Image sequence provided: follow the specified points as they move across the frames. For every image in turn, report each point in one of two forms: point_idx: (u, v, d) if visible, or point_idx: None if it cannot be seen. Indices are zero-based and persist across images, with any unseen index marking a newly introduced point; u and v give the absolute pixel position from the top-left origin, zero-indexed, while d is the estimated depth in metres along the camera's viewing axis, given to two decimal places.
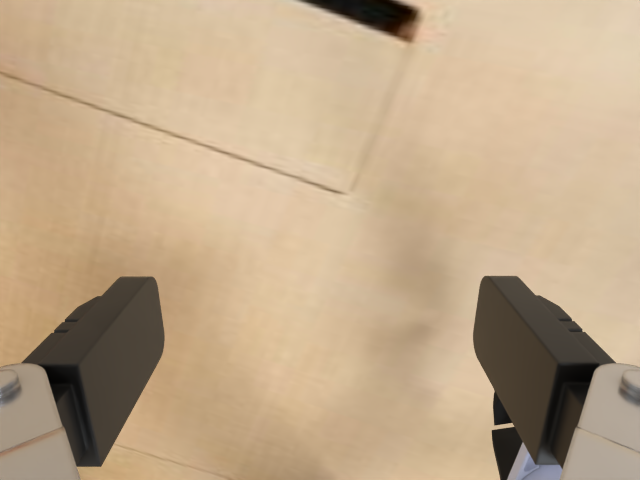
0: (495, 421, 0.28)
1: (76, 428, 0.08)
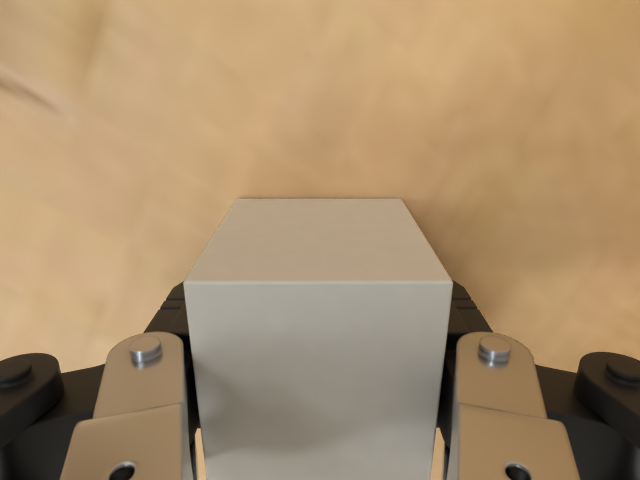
0: None
1: None
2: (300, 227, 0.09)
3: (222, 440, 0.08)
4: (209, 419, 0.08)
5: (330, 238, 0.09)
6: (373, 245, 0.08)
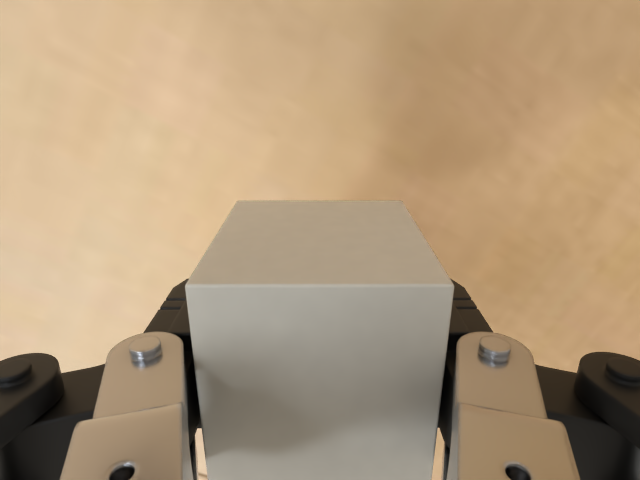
0: None
1: None
2: (300, 229, 0.09)
3: (223, 443, 0.08)
4: (210, 422, 0.08)
5: (331, 241, 0.09)
6: (374, 248, 0.08)
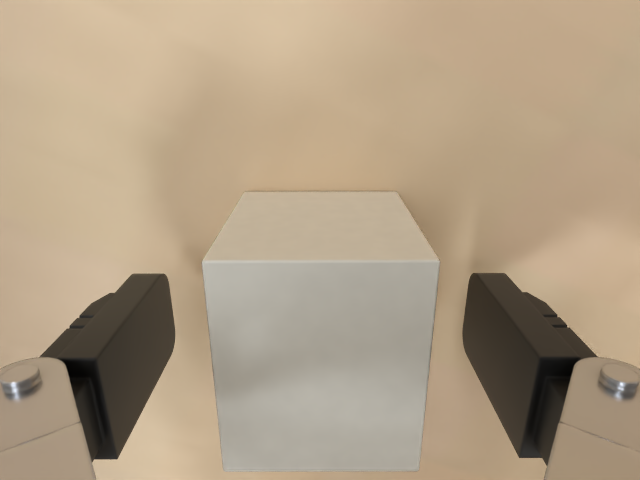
0: None
1: (94, 421, 0.08)
2: (303, 216, 0.10)
3: (234, 406, 0.09)
4: (223, 386, 0.09)
5: (331, 225, 0.10)
6: (369, 230, 0.09)
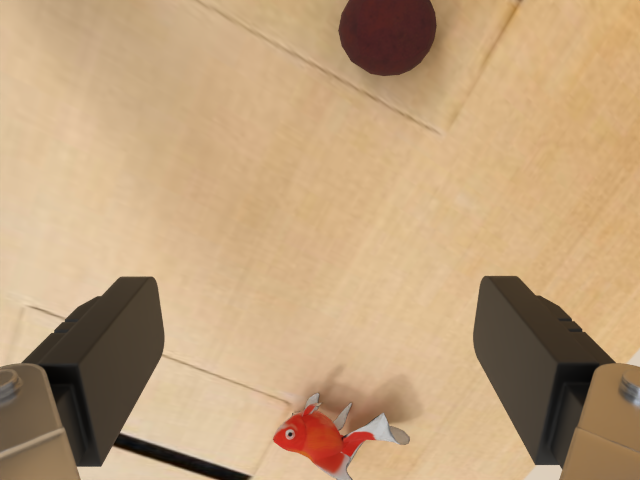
0: None
1: (77, 428, 0.08)
2: None
3: None
4: None
5: None
6: None
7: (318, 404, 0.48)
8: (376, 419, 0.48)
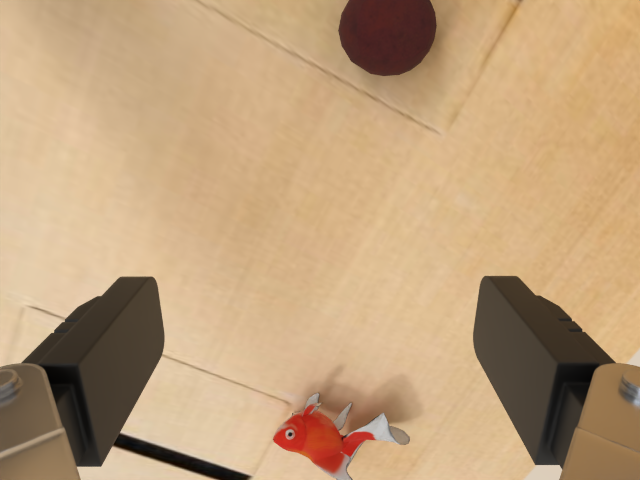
0: None
1: (77, 428, 0.08)
2: None
3: None
4: None
5: None
6: None
7: (318, 404, 0.48)
8: (376, 419, 0.48)
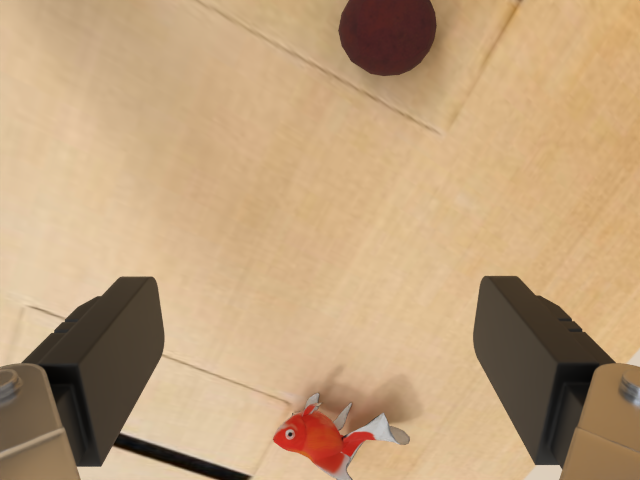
0: None
1: (77, 428, 0.08)
2: None
3: None
4: None
5: None
6: None
7: (318, 404, 0.48)
8: (376, 419, 0.48)
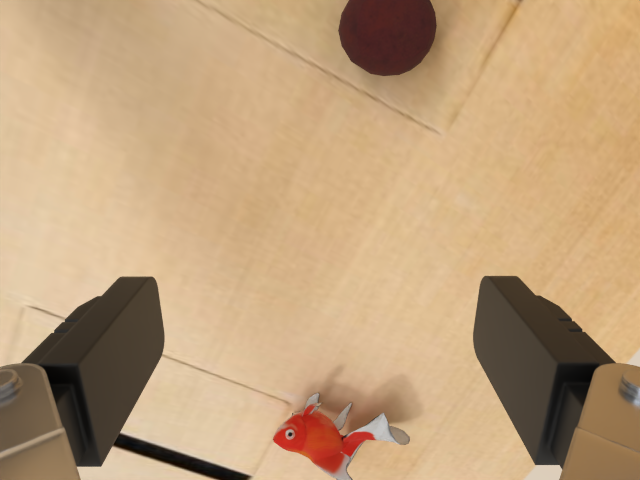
0: None
1: (77, 428, 0.08)
2: None
3: None
4: None
5: None
6: None
7: (318, 404, 0.48)
8: (376, 419, 0.48)
